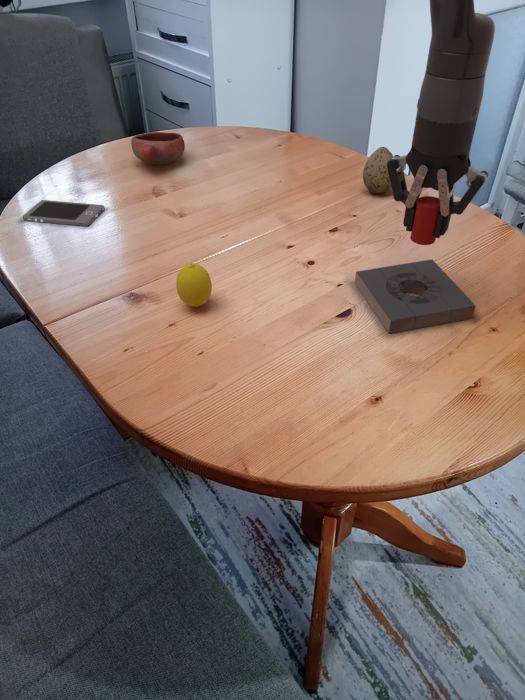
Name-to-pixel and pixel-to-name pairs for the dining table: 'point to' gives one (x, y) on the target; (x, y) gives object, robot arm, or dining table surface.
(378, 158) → the decorative egg
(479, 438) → the dining table surface
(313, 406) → the dining table surface
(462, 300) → the grey square base
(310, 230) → the dining table surface
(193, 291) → the lemon
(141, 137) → the bowl
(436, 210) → the stopper
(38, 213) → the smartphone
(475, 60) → the robot arm
